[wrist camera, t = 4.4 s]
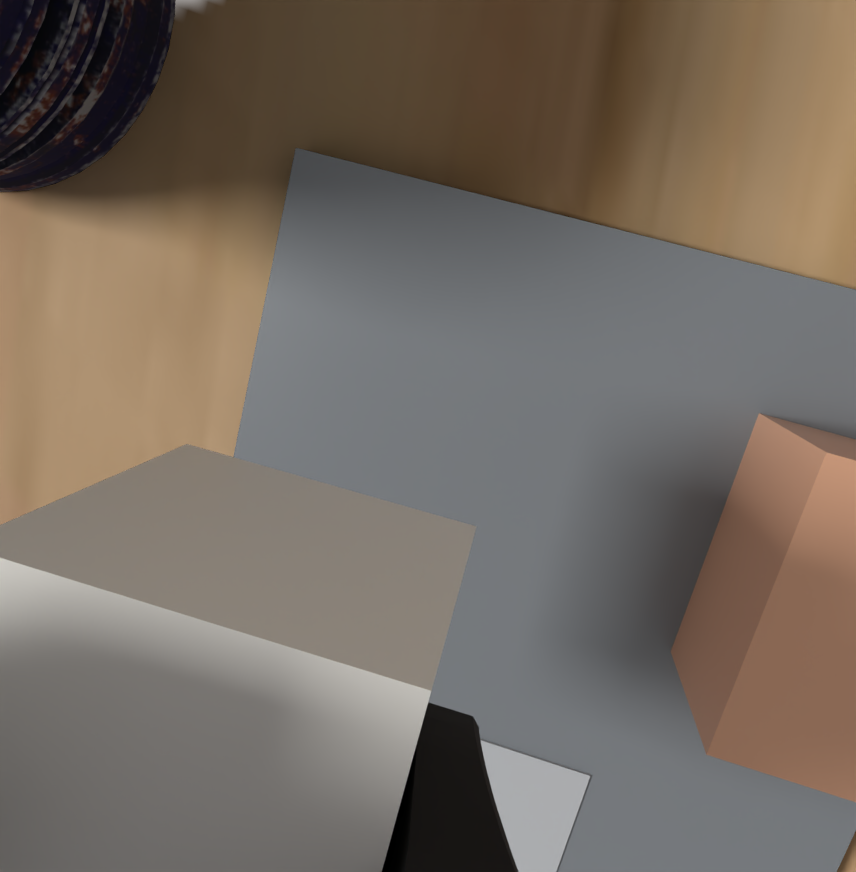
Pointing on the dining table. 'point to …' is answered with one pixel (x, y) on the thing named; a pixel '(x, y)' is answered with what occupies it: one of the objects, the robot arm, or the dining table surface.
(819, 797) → the baseplate
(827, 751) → the terracotta brick
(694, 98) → the dining table surface
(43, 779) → the off-white brick
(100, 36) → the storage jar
